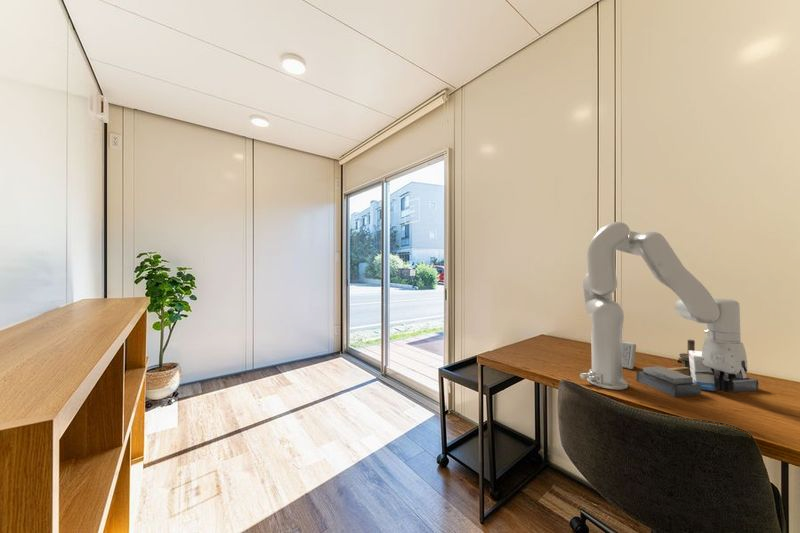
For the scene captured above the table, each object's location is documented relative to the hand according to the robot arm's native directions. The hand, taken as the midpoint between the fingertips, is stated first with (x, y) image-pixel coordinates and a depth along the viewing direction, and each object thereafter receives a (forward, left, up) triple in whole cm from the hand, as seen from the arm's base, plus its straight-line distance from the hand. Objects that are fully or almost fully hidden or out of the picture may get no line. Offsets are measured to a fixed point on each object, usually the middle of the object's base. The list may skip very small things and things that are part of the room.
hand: (725, 390), depth 100 cm
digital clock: (-10, +34, -2) cm, 36 cm away
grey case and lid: (-1, +9, -2) cm, 9 cm away
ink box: (+1, +7, -2) cm, 8 cm away
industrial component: (+17, +23, -2) cm, 29 cm away
